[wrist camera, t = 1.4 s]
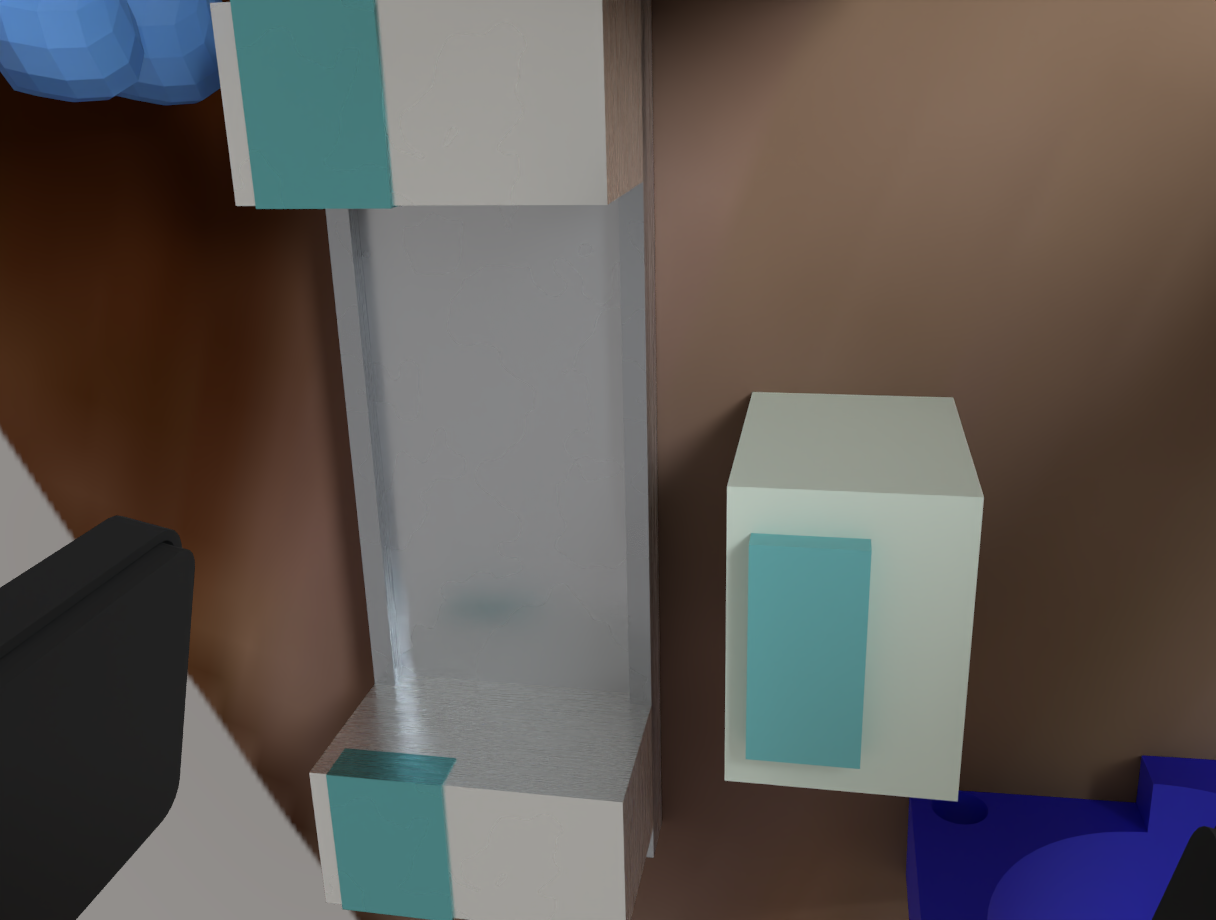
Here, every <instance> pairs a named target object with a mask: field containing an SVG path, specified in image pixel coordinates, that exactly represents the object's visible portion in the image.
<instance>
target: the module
mask: <svg viewBox="0 0 1216 920" xmlns="http://www.w3.org/2000/svg"><path fill="white" fill-rule="evenodd" d="M983 503H984V496H983V493H982V489H981V486H980V483H979V480H978V476H977V473H976V470H975V467H974V463H973V460H972V457H971V454H970V450H969V447H968V444H967V440H966V437H965V434H964V431H963V427H962V424H961V421H960V418H959V414H958V411H957V408H956V405H955V401H954V398H953V397H917V396H880V395H844V394H807V393H771V392H752V396H751V399H750V403H749V407H748V410H747V414H746V418H745V421H744V425H743V429H742V433H741V436H740V440H739V444H738V447H737V451H736V455H735V459H734V462H733V466H732V470H731V473H730V477H729V481H728V484H727V544H726V665H725V781H735V782H746V783H758V784H769V785H780V786H791V787H802V788H813V789H824V790H835V791H846V792H857V793H868V794H880V795H891V796H902V797H913V798H924V799H935V800H946V801H957V802H958V791H959V779H960V768H961V756H962V745H963V733H964V722H965V710H966V699H967V687H968V676H969V664H970V653H971V641H972V629H973V618H974V606H975V595H976V583H977V572H978V560H979V549H980V537H981V526H982V514H983Z"/></svg>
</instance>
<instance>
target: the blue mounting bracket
mask: <svg viewBox="0 0 1216 920" xmlns="http://www.w3.org/2000/svg"><path fill="white" fill-rule="evenodd" d="M1202 826H1207V827H1210V828H1215V826H1216V760H1208V759H1192V758H1176V757H1159V756H1143V755H1142V757H1141V765H1140V774H1139V782H1138V791H1137V800H1136V803H1133V802H1119V801H1104V800H1090V799H1075V798H1061V797H1047V796H1032V795H1018V794H1003V793H989V792H975V791H960V790H959V791H958V802H957V801H946V800H935V799H924V798H913V797H909V816H908V840H907V864H906V881H907V895H908V909H909V920H1152V918H1153V916H1154V914H1155V912H1156V910H1157V907H1158V905H1159V903H1160V901H1161V899H1162V897H1163V895H1164V892H1165V890H1166V888H1167V886H1168V884H1169V882H1170V880H1171V877H1172V875H1173V873H1174V871H1175V869H1176V867H1177V865H1178V862H1179V860H1180V858H1181V856H1182V854H1183V852H1184V850H1185V847H1186V845H1187V843H1188V841H1189V839H1190V837H1191V836H1192V834H1193V832H1194V831H1195V830H1197V829H1198V828H1199V827H1202Z"/></svg>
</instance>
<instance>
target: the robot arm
mask: <svg viewBox="0 0 1216 920" xmlns="http://www.w3.org/2000/svg"><path fill="white" fill-rule="evenodd" d="M194 572H195V560H194V556H193V553H192V552H191V551H190V550H187V549H183V548H182V545H181V541H180V537H179V535H178V534H177V533H176V532H175V531H174V530H171V529H168V528H164V527H160V526H156V525H153V524H149V523H145V522H142V521H138V520H134V519H131V518H127V517H123V516H117V515H116V516H113V517H111V518H108V519H107V520H105V521H104V522H102V523H101V524H99V525H97V526H96V527H94V528H93V529H91V530H90V531H88V532H86V533H85V534H83V535H82V536H80V537H79V538H77V539H76V540H74V541H72V542H71V543H69V544H68V545H66V546H65V547H63V548H61V549H60V550H58V551H57V552H55V553H54V554H52V555H51V556H49V557H47V558H46V559H44V560H43V561H42V562H40V563H38V564H37V565H35V566H34V567H32V568H30V569H29V570H27V571H26V572H24V573H22V574H21V575H19V576H18V577H16V578H15V579H13V580H12V581H10V582H8V583H7V584H5V585H4V586H2V587H1V588H0V920H76V919H77V918H78V916H79V915H80V914H81V913H82V912H83V911H84V910H85V909H86V907H87V906H88V905H89V904H90V903H91V902H92V901H93V899H94V898H95V897H96V896H97V895H98V894H99V893H100V891H101V890H102V889H103V888H104V887H105V886H106V885H107V883H108V882H109V881H110V880H111V879H112V878H113V877H114V875H115V874H116V873H117V872H118V871H119V870H120V869H121V868H122V866H123V865H124V864H125V863H126V861H128V860H129V858H130V857H131V856H132V855H133V854H134V853H135V852H136V851H137V849H138V848H139V847H140V846H141V845H142V844H143V842H144V841H145V840H146V839H147V838H148V837H149V836H150V835H151V833H152V832H153V831H154V830H155V829H156V828H157V827H158V825H159V824H160V823H161V822H162V821H163V819H164V818H165V817H166V815H167V814H168V812H169V810H170V808H171V806H172V804H173V802H174V799H175V797H176V793H177V790H178V786H179V780H180V767H181V752H182V739H183V724H184V711H185V697H186V683H187V669H188V655H189V642H190V628H191V614H192V600H193V586H194ZM1152 920H1216V826H1215V828H1210V827H1207V826H1202V827H1199V828H1198V829H1197V830H1195V831H1194V832H1193V834H1192V836H1191V837H1190V839H1189V841H1188V843H1187V845H1186V847H1185V850H1184V852H1183V854H1182V856H1181V858H1180V860H1179V862H1178V865H1177V867H1176V869H1175V871H1174V873H1173V875H1172V877H1171V880H1170V882H1169V884H1168V886H1167V888H1166V890H1165V892H1164V895H1163V897H1162V899H1161V901H1160V903H1159V905H1158V907H1157V910H1156V912H1155V914H1154V916H1153V918H1152Z"/></svg>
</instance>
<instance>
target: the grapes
mask: <svg viewBox="0 0 1216 920" xmlns="http://www.w3.org/2000/svg"><path fill="white" fill-rule="evenodd" d="M218 2H222V0H0V72H1V73H2V74H3V76H4V77H5V79H6V80H7V81H8V83H9V84H10V85H11V87H12V88H13V89H14V90H15V91H19V92H23V93H27V94H31V95H35V96H40V97H46V98H51V99H57V100H63V101H69V102H84V101H100V100H109V99H111V98H112V97H114V96H120V97H124V98H128V99H132V100H137V101H143V102H149V103H154V104H160V105H179V104H194V103H198V102H200V101H202V100H204V99H205V98H207V97H208V96H210V95H211V94H212V93H214V92H215V91H217V90H218V89H220V88H221V87H220V79H219V71H218V63H217V56H216V48H215V40H214V32H213V25H212V17H211V9H210V3H218Z"/></svg>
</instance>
